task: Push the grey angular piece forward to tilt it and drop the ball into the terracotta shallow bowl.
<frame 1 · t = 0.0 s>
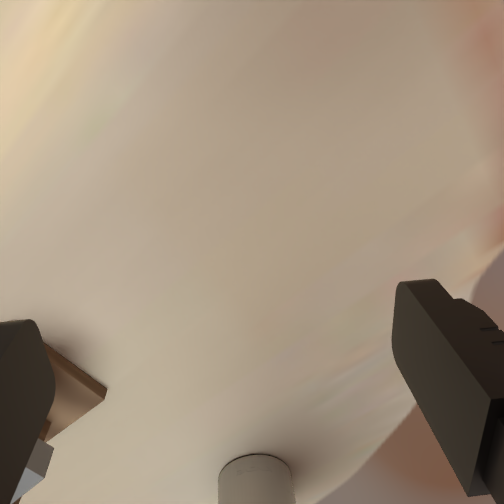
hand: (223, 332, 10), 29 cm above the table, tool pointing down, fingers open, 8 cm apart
catapult stand: (18, 392, 48), on the table
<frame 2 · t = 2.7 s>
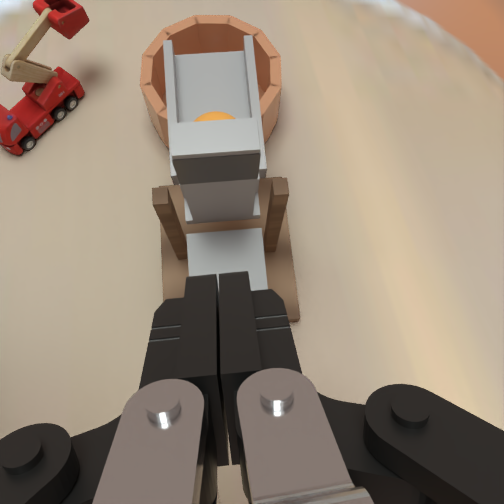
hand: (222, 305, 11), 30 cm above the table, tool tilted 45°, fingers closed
grey angular piece: (216, 148, 27), point 17 cm above the table, hinge at -5.0°, touching ball
ball: (216, 143, 29), point 16 cm above the table, tilted 12°, touching grey angular piece
toy fire truck: (56, 109, 48), on the table
catapult stand: (227, 254, 43), on the table
terracotta shallow bowl: (215, 111, 48), on the table
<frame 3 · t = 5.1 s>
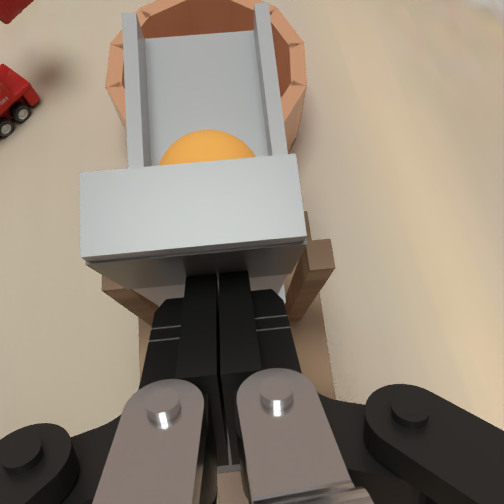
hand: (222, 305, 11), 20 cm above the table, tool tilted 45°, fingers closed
grey angular piece: (209, 197, 15), point 17 cm above the table, hinge at -4.4°, touching ball, gripper
ball: (210, 185, 17), point 16 cm above the table, tilted 12°, touching grey angular piece
toy fire truck: (2, 121, 36), on the table
catapult stand: (231, 321, 31), on the table
terracotta shallow bowl: (214, 121, 36), on the table
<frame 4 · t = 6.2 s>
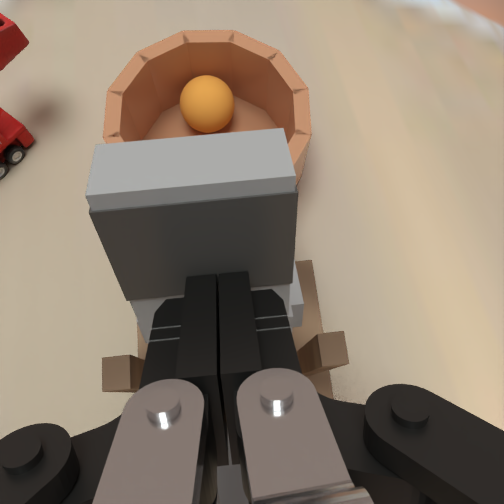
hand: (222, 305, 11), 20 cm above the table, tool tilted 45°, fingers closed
grey angular piece: (215, 264, 16), point 16 cm above the table, hinge at 23.1°, touching gripper
ball: (207, 104, 33), point 3 cm above the table, tilted 176°, touching terracotta shallow bowl
catapult stand: (235, 375, 30), on the table
terracotta shallow bowl: (214, 162, 35), on the table
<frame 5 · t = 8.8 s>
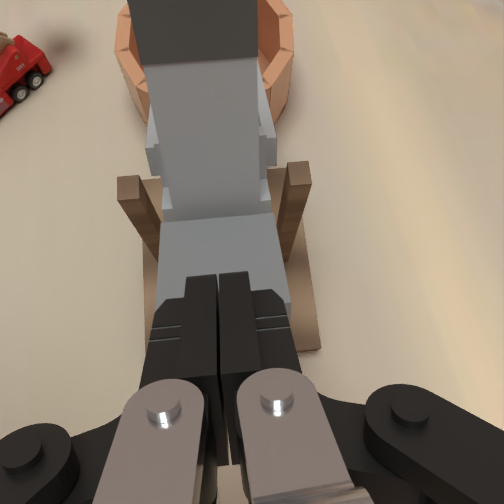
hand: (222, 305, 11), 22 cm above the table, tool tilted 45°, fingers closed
grey angular piece: (206, 97, 20), point 16 cm above the table, hinge at 25.7°
toy fire truck: (17, 88, 39), on the table
catapult stand: (226, 264, 34), on the table
terracotta shallow bowl: (211, 89, 39), on the table
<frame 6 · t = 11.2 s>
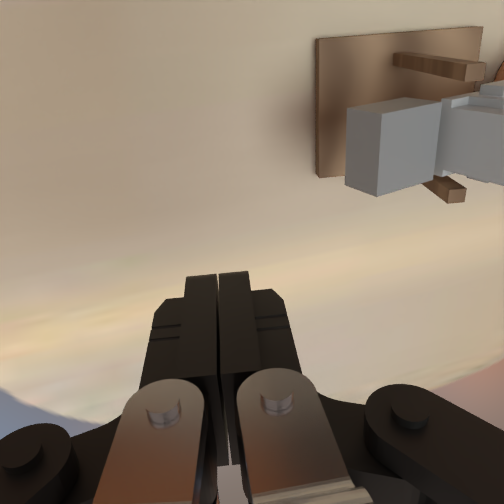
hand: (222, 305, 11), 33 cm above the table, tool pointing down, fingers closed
catapult stand: (390, 104, 42), on the table
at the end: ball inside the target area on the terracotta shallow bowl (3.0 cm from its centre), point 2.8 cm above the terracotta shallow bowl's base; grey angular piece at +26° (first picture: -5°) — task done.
